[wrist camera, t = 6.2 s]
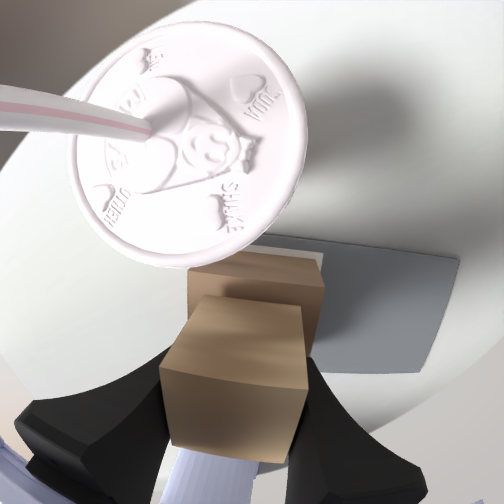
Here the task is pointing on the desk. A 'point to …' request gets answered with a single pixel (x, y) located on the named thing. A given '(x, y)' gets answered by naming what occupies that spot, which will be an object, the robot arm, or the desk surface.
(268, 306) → the oak block
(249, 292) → the walnut block
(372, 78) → the desk surface
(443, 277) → the slate mat
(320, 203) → the desk surface
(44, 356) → the desk surface
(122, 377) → the robot arm
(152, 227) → the smoothie
